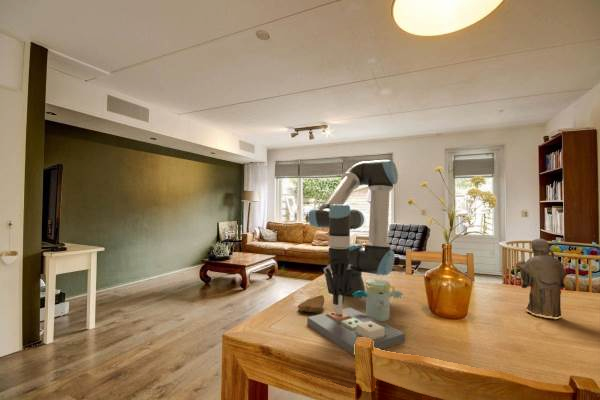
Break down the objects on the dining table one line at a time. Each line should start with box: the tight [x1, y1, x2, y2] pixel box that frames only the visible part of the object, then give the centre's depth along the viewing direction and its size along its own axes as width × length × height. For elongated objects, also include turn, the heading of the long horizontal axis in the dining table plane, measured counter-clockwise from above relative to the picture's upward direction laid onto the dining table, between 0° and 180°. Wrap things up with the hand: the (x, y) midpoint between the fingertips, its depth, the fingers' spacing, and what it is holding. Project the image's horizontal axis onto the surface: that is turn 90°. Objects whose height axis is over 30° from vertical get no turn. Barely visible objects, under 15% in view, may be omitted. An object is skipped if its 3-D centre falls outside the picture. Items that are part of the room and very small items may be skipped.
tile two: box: [341, 318, 363, 331], centre depth 97 cm, size 6×6×3 cm
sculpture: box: [517, 238, 568, 317], centre depth 116 cm, size 16×11×30 cm
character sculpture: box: [351, 278, 404, 322], centre depth 110 cm, size 20×12×13 cm, turn 92°
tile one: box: [357, 321, 385, 340], centre depth 90 cm, size 6×6×3 cm
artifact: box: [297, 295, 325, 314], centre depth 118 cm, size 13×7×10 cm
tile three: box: [326, 311, 350, 322], centre depth 104 cm, size 6×6×3 cm
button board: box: [306, 307, 406, 357], centre depth 97 cm, size 20×26×2 cm
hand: (338, 312), depth 104 cm, fingers closed
